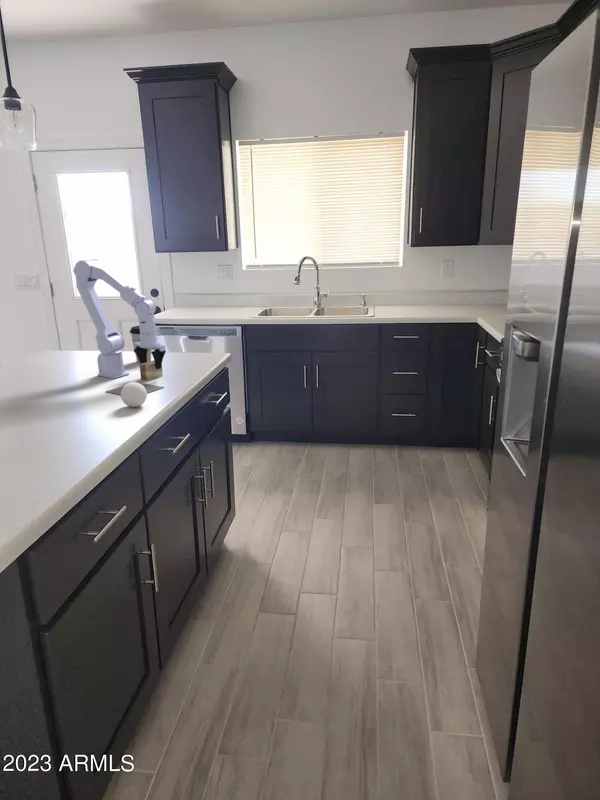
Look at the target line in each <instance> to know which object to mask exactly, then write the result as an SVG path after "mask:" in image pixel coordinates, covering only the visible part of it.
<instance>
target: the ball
mask: <svg viewBox="0 0 600 800" xmlns="http://www.w3.org/2000/svg"><path fill="white" fill-rule="evenodd" d="M136 382H137V381H132V382H131V381H130V382H128V383H126V384H125V386H124V385H123V386H124V387H123V389H122V391H121V395H120V397H121V400H122V402H123V404H124V405H125V406H128V407H131V408H136V407H140V406H142V405H143V404H144V403H145V402H146V399H147V396H148V394H147V392H146V389H145V388H144V386H143V385H141V384H139V383H136Z"/></svg>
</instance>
